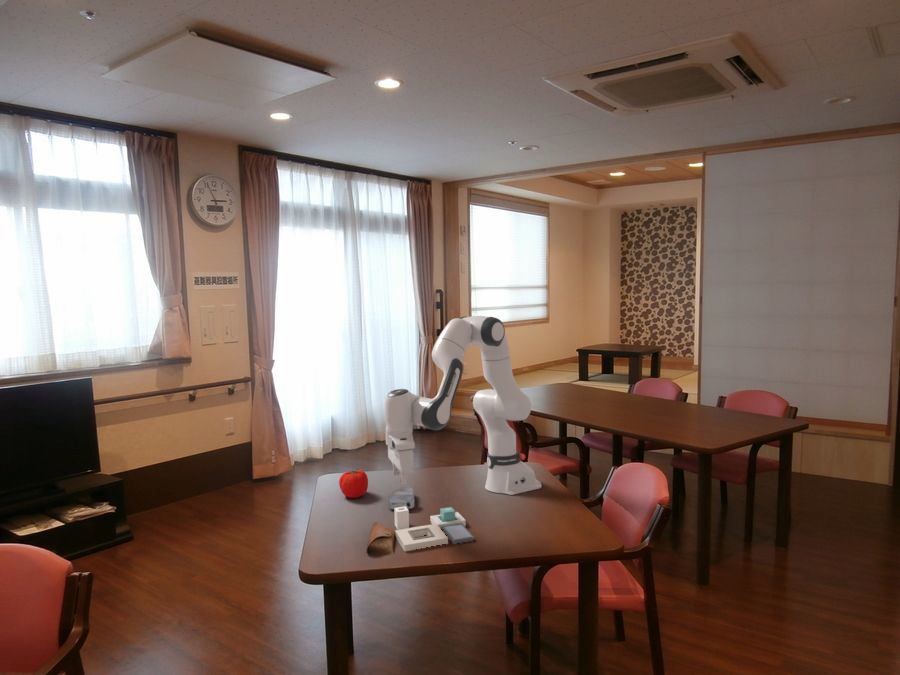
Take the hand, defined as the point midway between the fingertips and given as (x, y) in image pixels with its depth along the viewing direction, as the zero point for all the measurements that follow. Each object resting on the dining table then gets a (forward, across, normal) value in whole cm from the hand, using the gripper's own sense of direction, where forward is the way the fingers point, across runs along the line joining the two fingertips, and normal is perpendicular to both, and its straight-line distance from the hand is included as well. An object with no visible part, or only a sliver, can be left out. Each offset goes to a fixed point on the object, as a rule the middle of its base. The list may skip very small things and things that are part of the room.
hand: (400, 479), depth 197 cm
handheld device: (+17, -23, +6) cm, 29 cm away
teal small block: (+16, +4, +15) cm, 23 cm away
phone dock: (+16, +10, +15) cm, 24 cm away
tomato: (+17, -36, -10) cm, 41 cm away
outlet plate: (+16, +13, +3) cm, 21 cm away
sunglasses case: (+17, +10, -9) cm, 21 cm away
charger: (+16, 0, 0) cm, 16 cm away
